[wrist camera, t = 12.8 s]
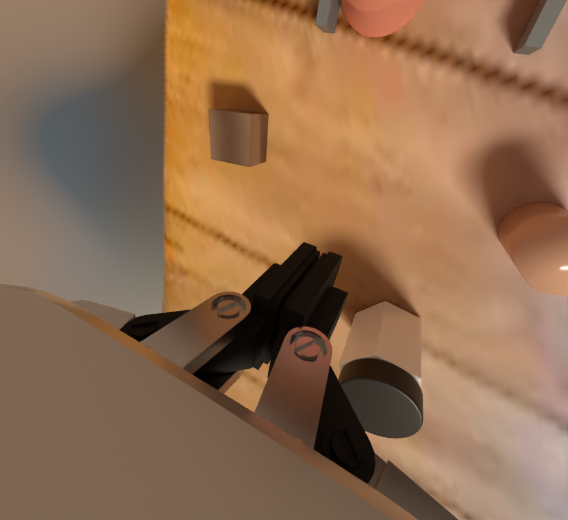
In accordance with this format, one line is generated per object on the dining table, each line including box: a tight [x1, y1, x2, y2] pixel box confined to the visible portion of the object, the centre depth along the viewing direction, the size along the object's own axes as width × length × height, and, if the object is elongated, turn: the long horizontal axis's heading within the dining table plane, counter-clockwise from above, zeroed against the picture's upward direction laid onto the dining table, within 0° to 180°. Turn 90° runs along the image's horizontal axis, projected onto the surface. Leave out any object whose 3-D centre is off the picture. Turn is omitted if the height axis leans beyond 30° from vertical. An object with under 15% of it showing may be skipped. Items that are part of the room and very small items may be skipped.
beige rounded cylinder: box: [498, 202, 568, 295], centre depth 21 cm, size 5×5×7 cm
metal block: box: [209, 109, 269, 167], centre depth 30 cm, size 5×5×4 cm
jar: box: [338, 301, 423, 438], centre depth 30 cm, size 9×8×12 cm
